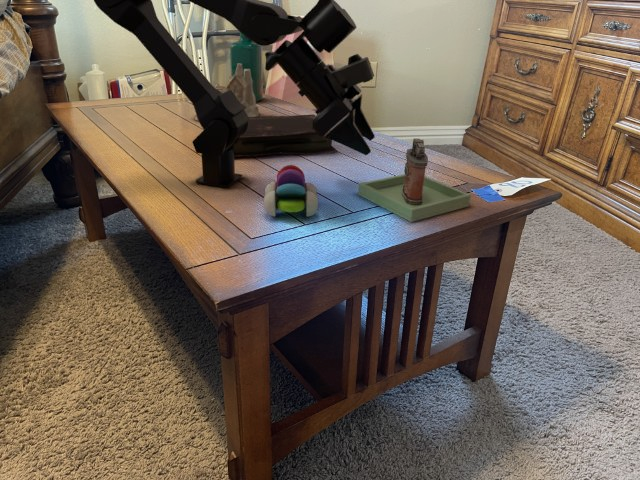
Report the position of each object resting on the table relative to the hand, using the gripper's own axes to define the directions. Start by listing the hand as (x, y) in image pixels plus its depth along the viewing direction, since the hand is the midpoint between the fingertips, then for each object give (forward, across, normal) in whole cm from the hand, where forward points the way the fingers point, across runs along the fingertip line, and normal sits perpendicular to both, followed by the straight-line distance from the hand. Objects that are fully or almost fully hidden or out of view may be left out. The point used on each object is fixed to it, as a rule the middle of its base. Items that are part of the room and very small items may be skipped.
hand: (370, 145), depth 86 cm
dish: (+12, 0, +1) cm, 12 cm away
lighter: (+12, 0, 0) cm, 12 cm away
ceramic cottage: (-23, +49, +36) cm, 65 cm away
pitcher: (-24, +73, +37) cm, 85 cm away
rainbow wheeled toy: (-2, -10, +15) cm, 18 cm away
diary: (-10, +26, +23) cm, 36 cm away
